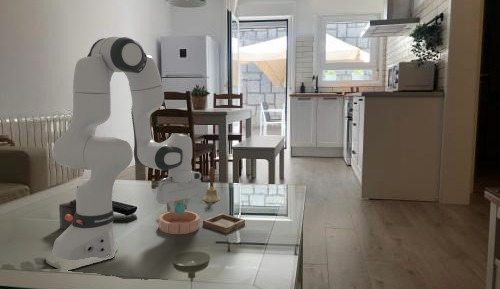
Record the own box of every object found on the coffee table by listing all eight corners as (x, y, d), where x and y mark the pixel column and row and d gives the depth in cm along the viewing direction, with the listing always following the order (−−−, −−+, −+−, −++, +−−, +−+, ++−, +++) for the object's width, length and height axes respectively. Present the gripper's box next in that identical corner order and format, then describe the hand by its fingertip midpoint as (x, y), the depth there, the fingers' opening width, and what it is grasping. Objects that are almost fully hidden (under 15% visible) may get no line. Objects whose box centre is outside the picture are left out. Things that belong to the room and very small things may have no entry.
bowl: (179, 237, 154) (179, 227, 154) (150, 227, 163) (150, 217, 163) (207, 226, 167) (207, 216, 166) (179, 217, 176) (179, 207, 175)
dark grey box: (57, 228, 159) (55, 182, 156) (83, 220, 168) (82, 177, 164) (81, 239, 150) (79, 190, 147) (107, 230, 159) (106, 184, 156)
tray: (226, 233, 160) (226, 228, 160) (202, 225, 167) (202, 220, 167) (244, 224, 170) (245, 219, 170) (222, 217, 177) (222, 213, 177)
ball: (178, 216, 160) (179, 205, 159) (170, 214, 162) (171, 203, 162) (187, 214, 163) (187, 203, 163) (179, 211, 166) (179, 200, 165)
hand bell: (219, 202, 197) (220, 169, 194) (201, 201, 197) (202, 168, 194) (220, 197, 205) (221, 165, 202) (203, 196, 205) (204, 164, 203)
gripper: (164, 180, 151) (163, 218, 153) (204, 173, 167) (203, 207, 169) (153, 177, 155) (152, 214, 156) (193, 171, 171) (192, 204, 172)
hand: (179, 210), depth 163 cm, fingers closed on ball, 4 cm apart
